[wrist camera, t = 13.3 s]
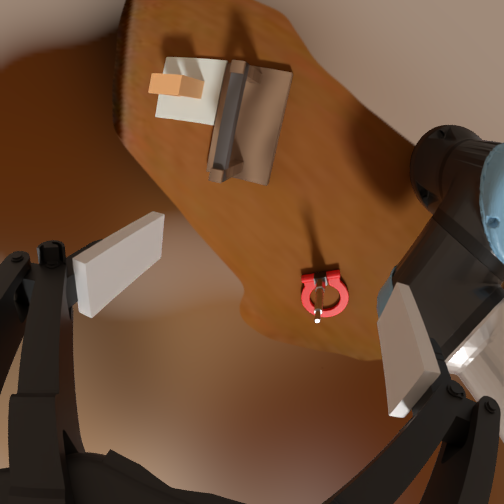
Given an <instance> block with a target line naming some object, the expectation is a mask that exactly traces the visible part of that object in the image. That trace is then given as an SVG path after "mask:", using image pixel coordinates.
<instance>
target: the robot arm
mask: <svg viewBox="0 0 504 504" xmlns="http://www.w3.org/2000/svg"><path fill="white" fill-rule="evenodd" d="M410 178H411V183H412V187H413V190H414V192H415V194H416V196H417V198H418V199H419V201H420V202H421V204H422V205H423V206H424V207H425V208H426V209H427V210H428V211H430V212H431V213H432V214H433V216H432V217H431V219H430V220H429V222H428V223H427V224H426V226H425V227H424V229H423V230H422V232H421V233H420V235H419V236H418V237H417V239H416V240H415V242H414V243H413V245H412V246H411V247H410V249H409V250H408V251H407V253H406V254H405V256H404V257H403V258H402V260H401V261H400V262H399V264H398V265H397V266H395V267H394V268H393V269H392V271H391V274H390V277H389V278H388V280H387V281H386V282H385V284H384V285H383V287H382V288H381V290H380V291H379V294H378V297H377V312H378V317H379V320H378V322H377V326H378V332H379V338H380V344H381V351H382V358H383V365H384V373H385V382H386V390H387V400H388V411H389V416H395V417H403V418H404V417H405V416H406V415H407V414H408V413H409V412H410V411H411V409H412V412H413V417H412V418H411V419H410V420H409V421H408V423H407V424H406V425H405V426H404V427H403V428H402V429H401V430H400V432H399V433H398V434H397V435H396V436H395V437H394V438H393V439H392V440H391V441H390V443H389V444H388V445H387V446H386V447H385V448H384V449H383V450H382V451H381V452H380V453H379V454H378V455H377V456H376V457H375V458H374V459H373V460H372V461H371V462H370V463H369V464H368V465H367V466H366V467H364V468H363V469H362V470H361V471H360V472H359V473H358V474H357V475H356V476H354V477H353V478H352V479H351V480H350V481H349V482H348V483H347V484H345V485H344V486H343V487H342V488H341V489H339V490H338V491H337V492H336V493H335V494H333V495H332V496H331V497H330V498H328V499H327V500H326V501H324V502H323V503H322V504H393V503H394V502H395V501H396V500H397V499H398V498H399V497H400V495H401V494H402V493H403V492H404V491H405V489H406V488H407V487H408V486H409V485H410V483H411V482H412V481H413V480H414V478H415V477H416V475H417V474H418V473H419V472H420V470H421V469H422V468H423V466H424V465H425V464H426V462H427V461H428V459H429V458H430V456H431V455H432V454H433V452H434V451H435V449H436V448H437V446H438V445H439V443H440V442H441V441H442V444H441V448H440V451H439V454H438V457H437V460H436V463H435V466H434V468H433V471H432V474H431V477H430V480H429V482H428V484H427V487H426V489H425V492H424V494H423V497H422V499H421V501H420V503H419V504H488V501H489V497H490V493H491V488H492V483H493V478H494V472H495V466H496V458H497V452H498V443H499V436H500V437H501V439H502V441H503V442H504V290H503V288H502V287H501V284H502V282H503V281H504V143H500V142H493V141H485V140H482V139H481V138H479V136H477V135H476V134H475V133H474V132H472V131H470V130H469V129H466V128H464V127H461V126H456V125H443V126H438V127H435V128H433V129H431V130H429V131H428V132H427V133H425V134H424V135H423V136H422V137H421V139H420V140H419V141H418V143H417V144H416V146H415V148H414V151H413V153H412V157H411V162H410ZM163 226H164V214H161V213H157V212H154V211H153V212H151V213H149V214H147V215H145V216H144V217H142V218H140V219H138V220H136V221H135V222H133V223H131V224H129V225H128V226H126V227H124V228H122V229H120V230H119V231H117V232H115V233H114V234H112V235H110V236H108V237H107V238H105V239H101V240H97V241H94V242H92V243H90V244H88V245H86V247H83V248H81V249H80V250H78V251H77V252H75V253H73V254H72V255H70V256H68V257H67V258H66V256H65V246H64V244H63V243H62V242H60V241H54V240H53V241H46V242H43V243H41V244H40V245H39V246H38V247H37V253H38V260H39V264H35V263H31V262H30V256H29V254H28V253H27V252H23V251H17V252H13V253H12V254H10V255H8V256H7V257H6V258H5V259H4V261H3V262H2V263H1V264H0V394H1V391H2V388H3V385H4V382H5V380H6V377H7V374H8V372H9V369H10V366H11V364H12V362H13V359H14V357H15V354H16V352H17V349H18V347H19V345H20V343H21V340H22V338H23V336H24V338H23V345H22V352H21V360H20V369H19V381H18V391H17V394H12V395H11V397H10V400H9V416H8V419H9V420H8V445H9V446H8V447H9V468H3V469H0V504H245V503H241V502H238V501H234V500H231V499H227V498H224V497H221V496H217V495H214V494H210V493H201V492H194V491H187V490H181V489H175V488H171V487H169V486H168V485H167V484H165V483H164V482H162V481H161V480H160V479H158V478H157V477H156V476H154V475H153V474H151V473H150V472H149V471H148V470H146V469H145V468H144V467H142V466H141V465H140V464H137V463H135V462H133V461H131V460H129V459H128V458H126V457H124V456H122V455H120V454H118V453H116V452H114V451H112V450H111V449H110V451H109V452H108V453H107V455H103V454H97V453H88V452H85V449H84V447H83V443H82V440H81V436H80V429H79V422H78V413H77V405H76V394H75V380H74V361H73V308H72V306H73V305H74V304H75V303H76V302H77V301H78V307H79V312H80V313H82V314H84V315H86V316H88V317H90V318H92V317H94V316H95V315H96V314H97V313H98V312H99V311H100V310H101V309H102V308H103V307H105V306H106V305H107V304H108V303H109V302H110V301H111V300H113V299H114V298H115V297H116V296H117V295H118V294H119V293H120V292H122V291H123V290H124V289H125V288H126V287H127V286H128V285H130V284H131V283H132V282H133V281H134V280H135V279H137V278H138V277H139V276H140V275H141V274H142V273H144V272H145V271H146V270H147V269H148V268H149V267H151V266H152V265H153V264H154V263H155V262H156V261H158V260H159V259H160V258H161V251H162V238H163ZM449 373H452V374H456V375H458V376H459V377H460V379H461V380H462V382H463V383H464V384H465V385H466V387H467V388H468V389H469V391H470V393H471V394H472V395H473V397H474V398H475V400H476V401H477V403H476V402H474V401H472V400H469V399H467V398H466V394H465V391H464V389H463V387H462V386H460V384H459V383H457V382H456V381H454V380H451V377H450V374H449Z"/></svg>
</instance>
